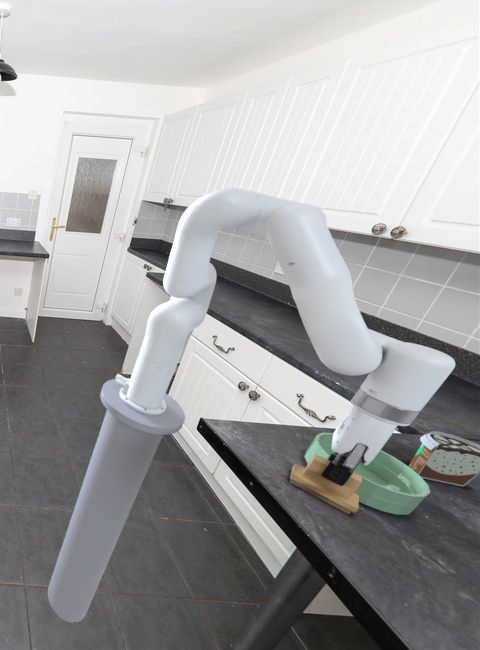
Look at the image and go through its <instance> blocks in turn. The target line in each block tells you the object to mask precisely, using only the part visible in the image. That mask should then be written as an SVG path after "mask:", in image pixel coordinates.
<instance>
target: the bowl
mask: <svg viewBox="0 0 480 650" xmlns="http://www.w3.org/2000/svg"><path fill="white" fill-rule="evenodd" d="M333 434H334V432H321V433H318V434H317V435H315V437H314V438H313V439H312V441H311V443H310V444H309V446H308V447H307V448H306V450H305V452H304V459H305V461H306V464H308V463H309V462H310V460H311V459H312V457H313V456H314V455H315V454H317V455H319V456H321V457H323V458H325V459H327V460H328V458H329V457H330V455H331V454H334V452H333V450H332V439H333ZM334 455H336V454H334ZM408 466H409V465H407V464H406V463H404V462H402V461H401V460H400V459H398V458H397V457H394V456H393V455H391V454H389V453H387V452H385V451H383V450H382V449H381V450H380V451H379V453H378V454H377V455H376V457H375V458H374V459H373V460H372V461H371V462H370V463H369V464H368V465H361V462H360V463H359V465H358V466H357V467H356V469H355V470H354V471H353V472H354V473H356V474H358V475H360V476H362V483H361V484H360V485H359V487H358V488H357V489H356V490H355V492H354V493H355V494H357V495H359V504H362V505H365V506H367V507H369V508H372V509H375V510H378V511H381V512H383V513H389V514H392V515H397V516H403V515H407V516H408V515H410V514H411V513H413V512H414V511H415V510H416V509H417V508H418V507H419V506H420V504H421V503H422V502H423V501H424V500H425V499H427V497H428V496H429V495H430V494H431V490H430V485H429V484H428V483H427V482H426V481H425V480H424V479H425V478H422V477H421V476H420V475H419V474H417V473H416V472H415V471H414V470H412V469H411V468H410V467H408Z"/></svg>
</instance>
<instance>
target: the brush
mask: <svg viewBox="0 0 480 650" xmlns="http://www.w3.org/2000/svg"><path fill="white" fill-rule="evenodd" d="M329 463H330V461H329V460H327V459H325V458H323V457H321V456H319V455H317V454H315V455H314V456H313V457H312V459H311V460H310V462H309V463H307V465H306V466H305V467H304V466H303V465H300V464H298V463H294V464H293V466H292V468H291V472H290V476H289V479H290V480H289V484H292V485H293V486H295V487H297V488H299V489H300V490H302V491H305V492H307V493H308V494H310V495H312V496H314V497H316V498H318V499H319V500H321V501H323V502H325V503H327V504H328V505H330V506H332V507H334V508H335V509H337V510H340V511H341V512H343V513H345V514H347V515H350V514H351V513H353V514H356V513H357V512H358V511H359V509H360V508H359V507H360V505H359V504H360V502H359V495H357V494H355V493H354V492H355V490H356V489H357V488H358V487H359V485H360V484H361V483H362V476H360V475H358V474H356V473H354V472H353V474H352V475H351V476H350V477H349V479H348V480H347V481H346V483H345V484H344V485H343V486H340V485H338V484H336V483H334V482H332V481H330V480H328V479H326V478H324V477H322V472H323V471H324V470H325V468H326V467H327V465H328V464H329Z"/></svg>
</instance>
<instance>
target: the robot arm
mask: <svg viewBox="0 0 480 650" xmlns="http://www.w3.org/2000/svg"><path fill="white" fill-rule="evenodd" d="M231 228H233V229H238V230H242V231H245V232H248V233H252V234H255V235H258V236H261V237H265V238H266V239H267V242H268V243H269V246H270V248H271V250H272V253H273V254H274V256H275V258H276V261H277V262H278V265H279V267H280V268H281V271H282V273H283V275H284V277H285V279H286V281H287V284H288V287H289V289H290V292H291V296H292V298H293V301H294V303H295V305H296V309H297V311H298V314H299V316H300V319H301V321H302V324H303V328H304V329H305V332H306V334H307V337H308V338H309V340H310V342H311V344H312V347H313V349H314V351H315V354H316V355H317V357H318V359H319V360H320V362H321V363H322V364H323V365H324V366H325V367H327V368H328V369H329V370H331V371H333V372H335V373H337V374H339V375H344V376H352V377H353V376H355V377H356V376H363V375H367V374H368V375H367V376H366V378H365V379H364V380H363V382H362V384H361V385H360V387H359V388H358V390H357V391H356V393H355V394H354V395H353V397H352V398H351V399H350V403H351V405H352V406H353V407H352V408H351V409H350V410H349V412H348V413H347V414H346V416H345V417H344V418H343V419H342V420H341V422H340V424H339V425H338V426H337V427H336V429H335V430H334V432H333V433H334V434H333V439H332V450H333V452H334V454H336V455H334V454H331V455H330V457H329V458H328V460H329V461H330V463H329V464H328V465H327V467H326V468H325V470H324V471H323V472H322V477H324V478H326V479H328V480H330V481H332V482H334V483H336V484H338V485H340V486H343V485H344V484H345V483H346V481H347V480H348V479H349V477H350V476H351V475H352V474H353V471H354V470H355V469H356V467H357V466H358V465H359V463H360V462H361V465H368V464H369V463H370V462H371V461H372V460H373V459H374V458H375V457H376V455H377V454H378V453H379V451H380V450H382V449H383V448H384V446H385V445H386V443H387V442H388V441H389V440H390V438H391V437H392V436H393V433H394V432H395V430H396V429H397V427H398V426H399V427H409V426H410V425H411V424H412V423H413V421H414V420H415V419H416V418H417V416H418V415H419V414H420V412H421V411H422V410H423V409H424V408H425V406H426V405H427V403H429V401H430V400H431V399H432V398H433V396H434V395H435V393H436V392H437V391H438V390H439V389H440V387H442V385H443V384H444V382H445V381H446V380H447V378H448V377H449V376H450V375H451V373H452V372H453V371H454V369H455V367H456V360H455V359H454V358H453V357H452V356H450V355H449V354H447V353H445V352H443V351H440V350H437V349H435V348H432V347H429V346H425V345H421V344H418V343H413V342H405V341H402V340H398V339H397V338H394V337H391V336H388V335H385V334H384V333H380V332H378V331H375V330H373V329H371V328H368V326H367V324H366V323H365V322H366V321H364V318H363V316H362V313H361V311H360V308H359V306H358V303H357V300H356V296H355V292H354V286H353V279H352V275H351V271H350V269H349V267H348V265H347V263H346V261H345V260H344V257H343V255H341V252H340V250H339V248H338V246H337V244H336V242H335V240H334V238H333V236H332V234H331V231H330V229H329V227H328V226H327V217H326V214H325V212H324V211H323V210H322V209H321V208H320V207H318V206H315V205H312V204H308V203H302V202H297V201H292V200H287V199H283V198H280V197H275V196H272V195H268V194H264V193H260V192H256V191H252V190H247V189H243V188H237V187H236V188H235V187H233V188H223V189H219V190H215V191H212V192H210V193H207V194H205V195H203V196H201V197H199V198H197V199H196V200H195V201H193V202H192V203H191V204H190V205H189V206H187V208H186V209H185V211H183V213H182V215H181V216H180V219H179V221H178V224H177V226H176V231H175V235H174V239H173V243H172V246H171V250H170V253H169V256H168V261H167V265H166V268H165V271H164V275H163V280H162V285H163V290H164V291H165V293H167V294H168V295H169V296H170V298H169V300H168V301H165V302H163V303H161V304H159V305H158V306H156V307H155V308H154V309H153V310H152V311H151V313H150V314H149V316H148V319H147V323H146V329H145V333H144V337H143V340H142V344H141V346H140V350H139V352H138V356H137V358H136V361H135V364H134V367H133V370H132V373H131V376H130V378H129V377H128V378H127V377H125V376H123V375H121V374H120V373H116V376H115V377H114V379H116V382H115V383H117V384H118V385H121V386H122V388H121V389H120V392H119V395H120V398H121V399H122V400H123V402H124V403H125V404H127V405H128V406H129V407H131V408H132V409H134V410H136V411H138V412H141V413H144V414H148V415H161V414H163V413H164V412H165V410H166V407H167V406H166V403H165V401H164V400H163V398H164V396H165V393H166V394H167V391H168V388H169V385H170V383H171V381H172V378H173V376H174V373H175V371H176V368H177V366H178V364H179V361H180V359H181V356H182V353H183V350H184V346H185V342H186V339H187V337H188V335H189V334H190V332H192V331H193V330H195V329H196V328H198V327H199V326H201V324H202V323H203V322H204V320H205V319H206V316H207V312H208V310H209V307H210V304H211V300H212V297H213V295H214V294H213V293H214V291H215V287H216V284H217V278H218V277H217V270H216V267H215V266H214V264H212V263H211V262H210V261H211V259H212V254H213V252H214V248H215V244H216V237H217V234H218V233H219V232H220V231H221V230H224V229H231Z"/></svg>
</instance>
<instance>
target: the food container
mask: <svg viewBox="0 0 480 650" xmlns="http://www.w3.org/2000/svg"><path fill="white" fill-rule="evenodd" d="M419 440H420V442H421V444H420V446H419V447H418V449H417V451H416V453H415V455H414V456H413V458H412V459H411V461H410V462H409V464H408V465H407V466H408V467H410V468H411V469H412V470H414V471H415V472H416V473H417V474H419V475H420V476H421V477H422V478H423V479H425V480H430V481H435V482H439V483H443V484H449V485H454V486H459V487H465V486H467V485H468V484H469V483H470V482H471V481H472V480H474V478H476V477H477V476H479V474H480V444H478V443H475V442H473V441H471V440H468V439H465V438H463V437H460V436H458V435H454V434H450V433H447V432H443V431H436V430H435V431H430V432H427V433H425V434H423V435H422V436H421V437H420V438H419Z"/></svg>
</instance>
